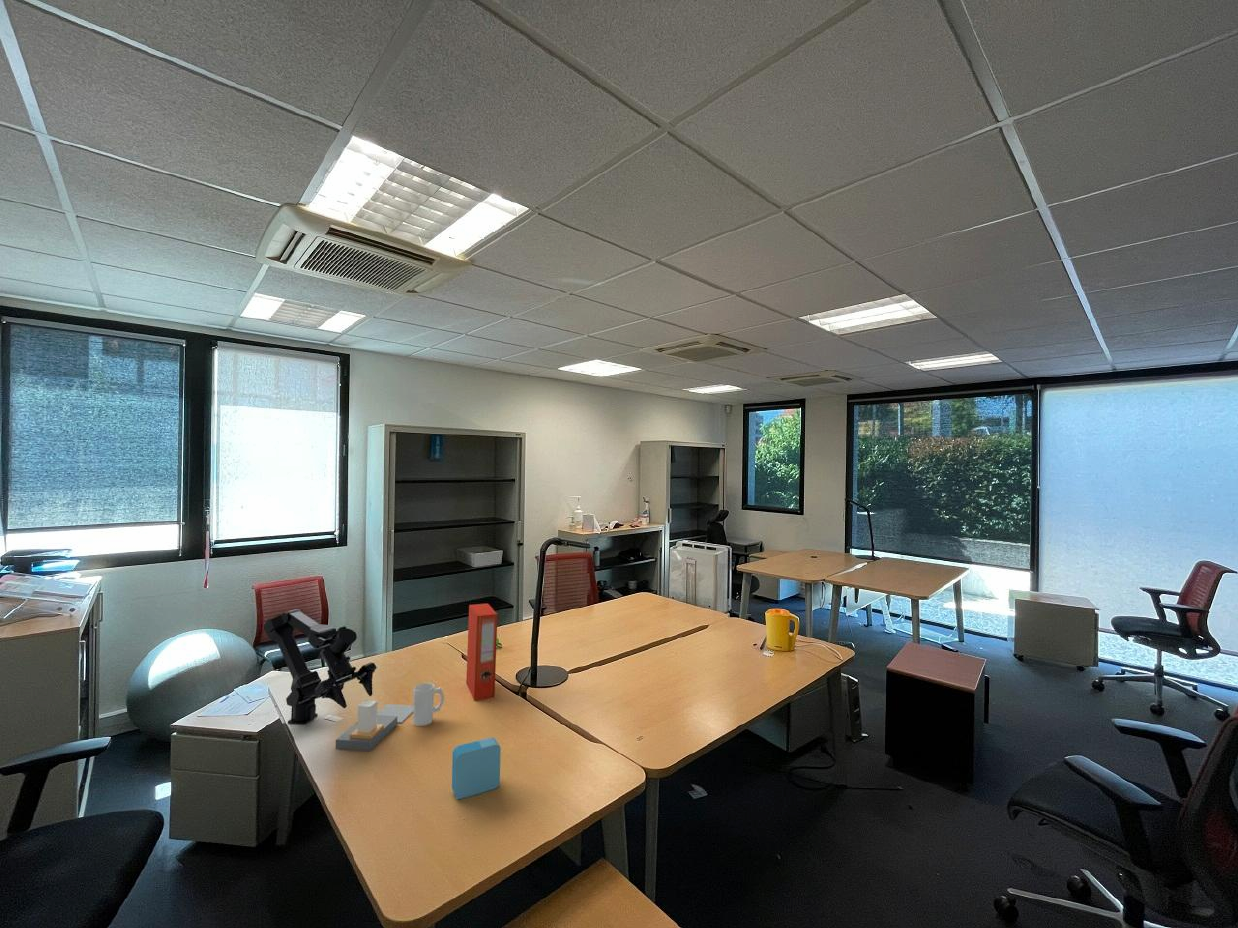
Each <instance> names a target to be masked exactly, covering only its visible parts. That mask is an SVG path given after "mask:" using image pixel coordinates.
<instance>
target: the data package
mask: <svg viewBox="0 0 1238 928" xmlns="http://www.w3.org/2000/svg"><path fill="white" fill-rule="evenodd" d="M501 750H502V749H501V745H500V744H499V742H498V741H497V739H496V738H495V737H488V738H483V739H481V740H475V741H471V742H467V743H464V744H460V745H457V746H455V747H454V748H453V751H452V763H451V764H452V765H451V769H452V770H451V788H452V792H453V794H454V797H455V799H458V800H462V799H465V798H469V797H473V796H476V795H478V794H482V793H485V792H488V791H492V790H494V789H496V788H498V786H499V785H500V783H501V781H500V780H501Z"/></svg>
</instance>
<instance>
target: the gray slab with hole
mask: <svg viewBox="0 0 1238 928" xmlns="http://www.w3.org/2000/svg"><path fill="white" fill-rule="evenodd" d="M377 724H384V728H383V729H382V730H380V731H379V732H378V733H377V734H376V735H375V736H374V737H373V738H372V739H363V738H350V734H351V733H352V732H353V731H354V730H356V729H357V728H358V721H357V722H356V723H354V724H353V725H352V726H350V728H349V729H347V730H346V731H345V732H344V733H342V734H341V735H339V737H337V738H336V739H335V749H336V750H348V751H361V752H362V751H364V752H365V751H366V752H370V751H372V749H373V748H375V747H376V746H377V744H379V743H380V742H381V741H382V740H383V739H384V738H385V737H386V736H387V735H388V734H389V733H390V732H392V730H393V729H395V728H396V726H398V723H397V716H383V715H377Z"/></svg>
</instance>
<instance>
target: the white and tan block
mask: <svg viewBox="0 0 1238 928" xmlns="http://www.w3.org/2000/svg"><path fill="white" fill-rule="evenodd" d="M378 702H379V701H378V700H373V699H372V700H369V699H365V700H364V701H363V702H361V703H360V704H359V705H357V706H358V709H357V722H358V728H357V729H356V730H354V731H353V732H352V733H351V734H350V738H363V739H372V738H373V737H374V736H375V735H376V734H377V733H378V732H379V731H380V730H382V729H383V728H384V724H377V712H378Z"/></svg>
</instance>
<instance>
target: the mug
mask: <svg viewBox="0 0 1238 928" xmlns="http://www.w3.org/2000/svg"><path fill="white" fill-rule="evenodd" d="M435 686H436V685H435V684H434V683H432V682H422V683H419V684H417V685H415V686H414V687H413V713H412V715H413V717H412V718H413V720H412V721H413V722H412V724H413V725H414V726H417V727H423V726H428V725H429V724H431V723H432V722H433V720H434V714H435V713H436V712H441V708H442V706H443V704H444V700H445V694H444V692H443V690H442V687H437V688H435ZM435 694H439V696H440V702H439V704H438V705H437V706H434V702H435Z"/></svg>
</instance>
